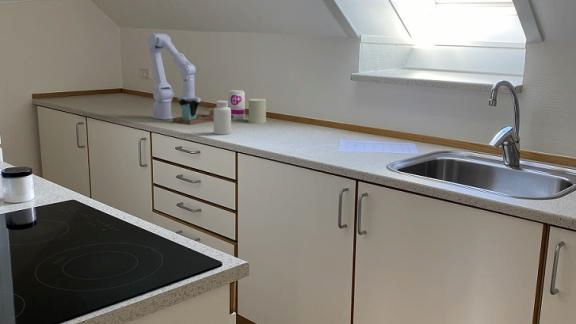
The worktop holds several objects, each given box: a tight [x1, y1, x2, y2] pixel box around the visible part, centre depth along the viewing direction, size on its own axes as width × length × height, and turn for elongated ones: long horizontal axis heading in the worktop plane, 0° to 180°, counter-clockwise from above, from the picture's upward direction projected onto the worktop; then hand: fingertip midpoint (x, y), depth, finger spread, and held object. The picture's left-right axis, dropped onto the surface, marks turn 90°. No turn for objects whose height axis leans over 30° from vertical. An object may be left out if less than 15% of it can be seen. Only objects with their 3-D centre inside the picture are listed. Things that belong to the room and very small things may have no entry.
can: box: [248, 98, 267, 124], centre depth 315 cm, size 9×9×12 cm
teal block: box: [181, 104, 197, 120], centre depth 311 cm, size 5×5×7 cm
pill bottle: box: [213, 100, 232, 136], centre depth 280 cm, size 8×8×15 cm
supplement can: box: [228, 89, 246, 121], centre depth 323 cm, size 8×8×15 cm
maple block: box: [208, 107, 215, 116], centre depth 328 cm, size 5×5×7 cm
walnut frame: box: [172, 113, 214, 126], centre depth 316 cm, size 13×20×2 cm, turn 143°
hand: (189, 114), depth 312 cm, fingers closed on teal block, 5 cm apart
